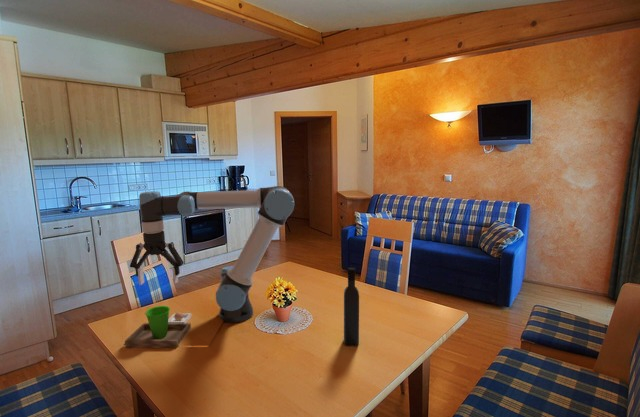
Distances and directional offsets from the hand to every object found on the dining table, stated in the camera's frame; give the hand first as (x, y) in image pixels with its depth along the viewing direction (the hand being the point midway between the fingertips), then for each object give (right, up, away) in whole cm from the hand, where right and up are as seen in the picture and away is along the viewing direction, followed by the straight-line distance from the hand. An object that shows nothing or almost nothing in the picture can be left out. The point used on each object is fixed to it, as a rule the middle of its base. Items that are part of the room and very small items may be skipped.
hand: (159, 283), depth 139 cm
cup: (0, -22, +1) cm, 22 cm away
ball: (+2, -20, +15) cm, 25 cm away
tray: (0, -22, +1) cm, 23 cm away
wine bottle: (+77, -23, -3) cm, 80 cm away
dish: (+2, -20, +15) cm, 25 cm away
